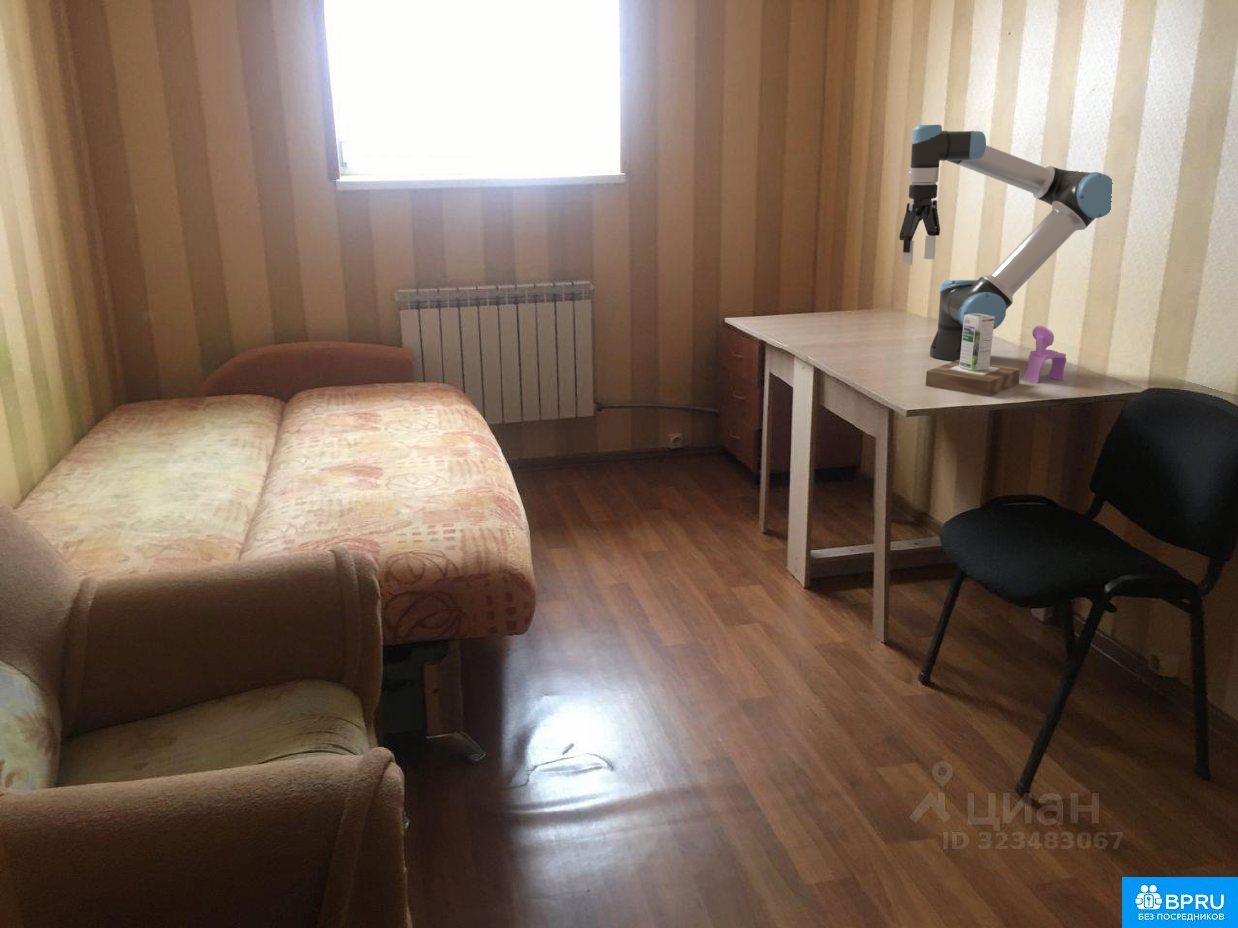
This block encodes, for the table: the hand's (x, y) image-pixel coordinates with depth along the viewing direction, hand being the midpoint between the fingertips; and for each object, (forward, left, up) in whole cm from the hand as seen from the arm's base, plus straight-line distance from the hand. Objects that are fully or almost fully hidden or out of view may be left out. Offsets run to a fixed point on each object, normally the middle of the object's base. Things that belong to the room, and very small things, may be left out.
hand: (918, 261), depth 286 cm
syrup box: (+7, +23, -26) cm, 36 cm away
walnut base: (+8, +23, -31) cm, 39 cm away
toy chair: (-10, +35, -31) cm, 48 cm away
